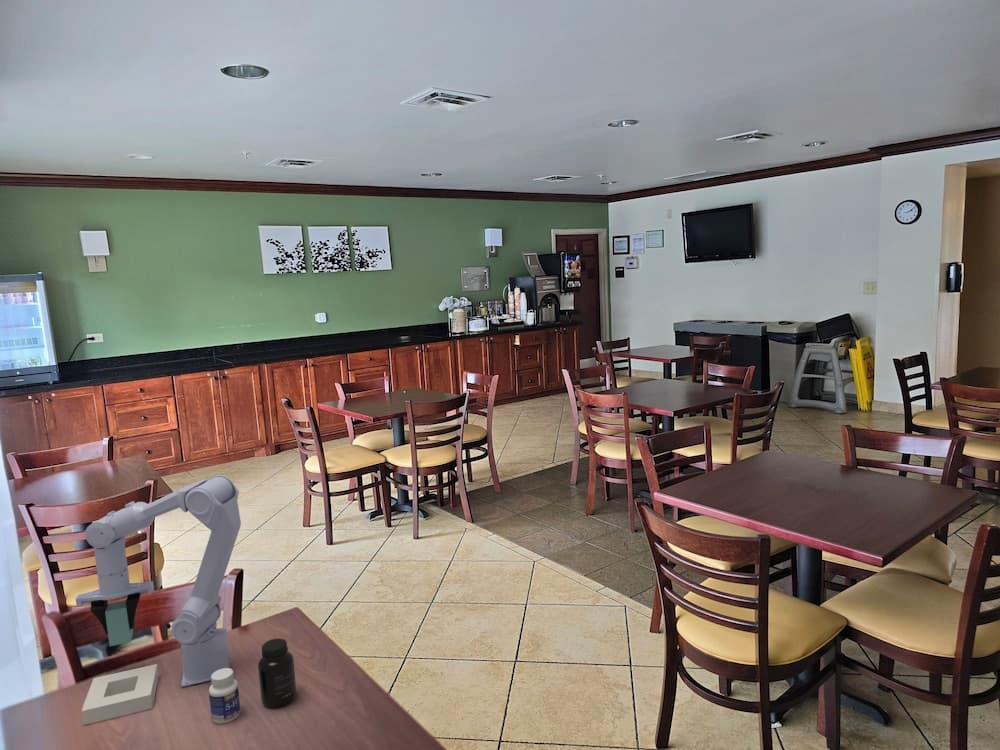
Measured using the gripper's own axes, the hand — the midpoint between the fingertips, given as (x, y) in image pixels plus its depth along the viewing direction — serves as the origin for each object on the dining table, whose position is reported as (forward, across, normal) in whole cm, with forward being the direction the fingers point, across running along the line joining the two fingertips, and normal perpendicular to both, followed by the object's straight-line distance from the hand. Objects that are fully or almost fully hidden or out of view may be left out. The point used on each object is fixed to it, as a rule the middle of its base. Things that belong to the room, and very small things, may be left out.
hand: (120, 629), depth 144 cm
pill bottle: (+10, -21, +26) cm, 35 cm away
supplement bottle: (+10, -31, +25) cm, 41 cm away
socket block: (+10, -1, +11) cm, 15 cm away
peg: (+2, 0, 0) cm, 2 cm away
